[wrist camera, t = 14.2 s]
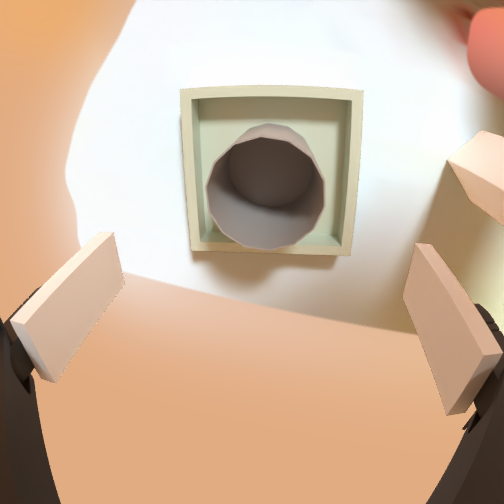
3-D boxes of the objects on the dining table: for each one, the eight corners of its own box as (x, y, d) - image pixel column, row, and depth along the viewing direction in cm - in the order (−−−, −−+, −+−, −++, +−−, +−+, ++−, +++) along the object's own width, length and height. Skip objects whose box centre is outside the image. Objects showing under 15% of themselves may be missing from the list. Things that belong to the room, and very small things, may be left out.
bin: (190, 89, 29) (180, 89, 26) (355, 91, 27) (363, 90, 24) (199, 236, 36) (191, 250, 33) (344, 240, 35) (350, 255, 32)
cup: (243, 213, 34) (227, 261, 25) (216, 138, 30) (188, 158, 21) (323, 193, 32) (337, 234, 23) (301, 113, 28) (309, 122, 20)
